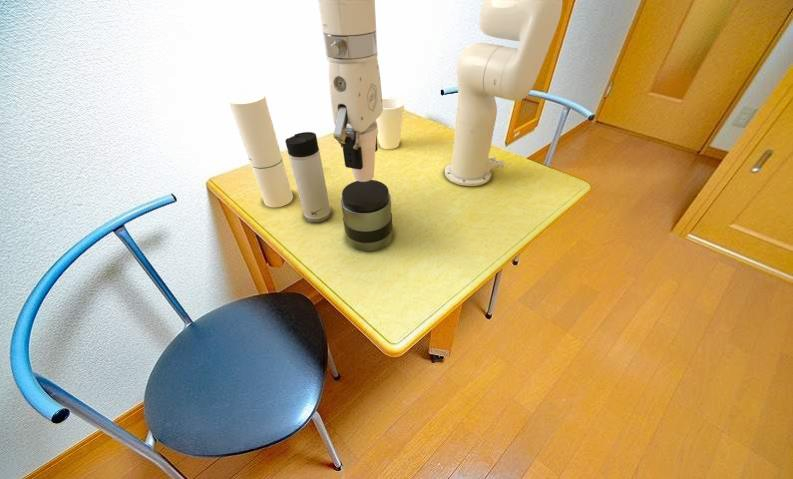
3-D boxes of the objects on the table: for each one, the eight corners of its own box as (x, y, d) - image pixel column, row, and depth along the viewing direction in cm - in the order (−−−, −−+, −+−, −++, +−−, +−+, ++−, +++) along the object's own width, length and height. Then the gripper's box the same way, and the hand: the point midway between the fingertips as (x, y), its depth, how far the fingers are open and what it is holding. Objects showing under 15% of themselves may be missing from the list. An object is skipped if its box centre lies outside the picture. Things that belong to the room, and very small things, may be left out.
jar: (388, 218, 76) (386, 175, 68) (396, 248, 68) (395, 203, 61) (344, 224, 75) (337, 181, 67) (348, 255, 67) (340, 210, 59)
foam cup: (378, 137, 109) (375, 97, 100) (405, 138, 108) (405, 98, 99) (372, 150, 102) (369, 108, 93) (401, 152, 101) (401, 109, 92)
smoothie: (376, 187, 59) (370, 109, 49) (342, 183, 60) (330, 106, 50) (384, 169, 63) (380, 95, 54) (352, 166, 64) (344, 93, 55)
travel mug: (320, 226, 74) (301, 145, 61) (299, 217, 77) (277, 137, 63) (337, 212, 78) (323, 132, 65) (317, 204, 81) (299, 126, 67)
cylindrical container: (283, 188, 86) (254, 89, 70) (298, 198, 83) (271, 97, 66) (259, 199, 83) (221, 98, 66) (272, 211, 79) (237, 106, 62)
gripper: (349, 62, 40) (362, 186, 52) (395, 35, 52) (397, 141, 64) (296, 58, 42) (320, 179, 54) (352, 33, 54) (362, 136, 66)
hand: (362, 157), depth 59 cm, fingers closed on smoothie, 6 cm apart
